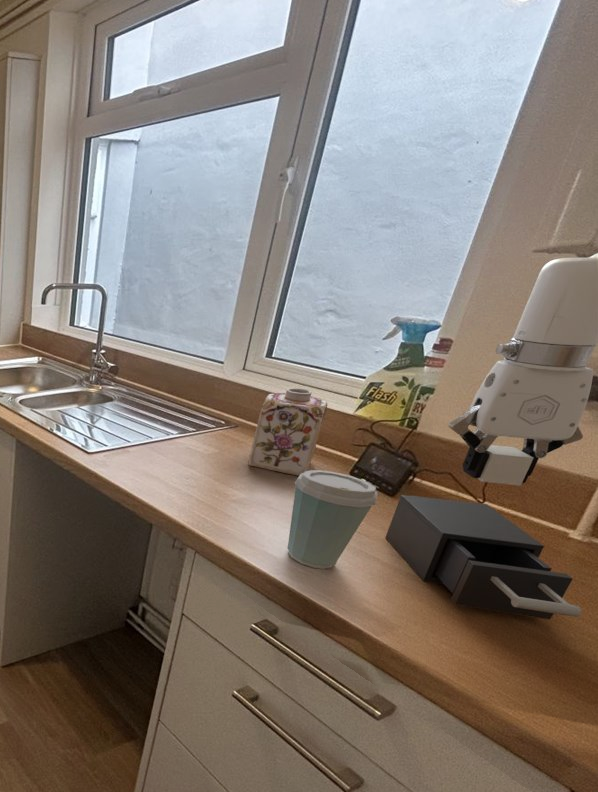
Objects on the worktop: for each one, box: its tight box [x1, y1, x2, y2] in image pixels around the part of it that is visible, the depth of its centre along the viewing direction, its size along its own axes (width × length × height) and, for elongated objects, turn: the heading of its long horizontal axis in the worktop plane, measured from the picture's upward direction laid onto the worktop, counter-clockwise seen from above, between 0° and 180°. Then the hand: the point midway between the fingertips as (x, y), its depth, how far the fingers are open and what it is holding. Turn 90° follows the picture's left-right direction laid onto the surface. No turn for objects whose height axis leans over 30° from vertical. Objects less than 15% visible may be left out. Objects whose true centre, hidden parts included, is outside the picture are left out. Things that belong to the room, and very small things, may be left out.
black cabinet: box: [385, 494, 545, 585], centre depth 84 cm, size 14×12×9 cm
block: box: [476, 444, 533, 487], centre depth 77 cm, size 4×4×4 cm
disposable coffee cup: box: [287, 469, 379, 570], centre depth 85 cm, size 11×11×15 cm
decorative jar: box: [247, 387, 329, 477], centre depth 121 cm, size 12×12×18 cm
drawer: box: [433, 538, 582, 620], centre depth 75 cm, size 19×10×7 cm, turn 161°
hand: (493, 475), depth 78 cm, fingers closed on block, 4 cm apart
